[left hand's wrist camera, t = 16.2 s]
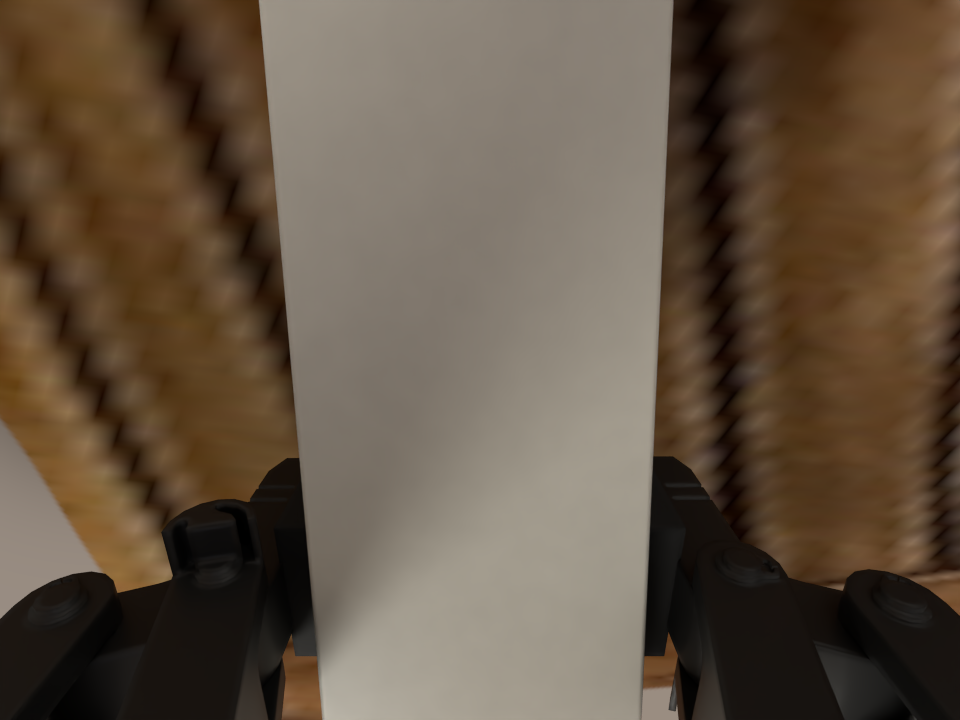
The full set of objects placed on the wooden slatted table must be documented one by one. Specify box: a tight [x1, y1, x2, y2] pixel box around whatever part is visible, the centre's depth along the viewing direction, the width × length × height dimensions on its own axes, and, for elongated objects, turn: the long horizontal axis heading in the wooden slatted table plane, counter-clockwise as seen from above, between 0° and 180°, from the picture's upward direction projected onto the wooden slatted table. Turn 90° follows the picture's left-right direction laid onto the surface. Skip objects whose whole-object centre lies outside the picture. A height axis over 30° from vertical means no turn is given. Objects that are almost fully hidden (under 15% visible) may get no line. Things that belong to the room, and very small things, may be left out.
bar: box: [259, 0, 673, 720], centre depth 10 cm, size 25×5×8 cm, turn 1°
